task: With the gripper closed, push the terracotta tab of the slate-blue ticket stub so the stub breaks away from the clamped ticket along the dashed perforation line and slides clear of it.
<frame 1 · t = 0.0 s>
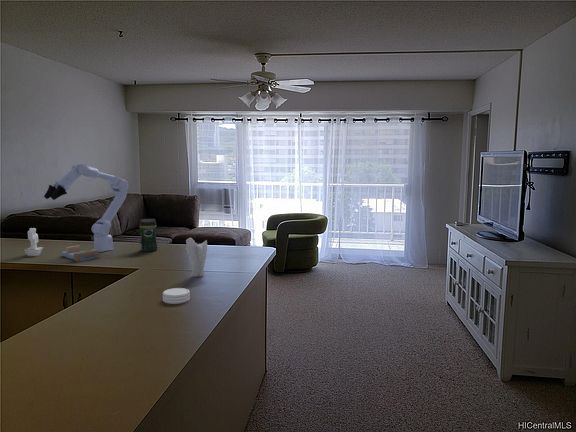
hand: (48, 198, 228), 32 cm above the kitchen counter, tool tilted 50°, fingers open, 7 cm apart
coffee jar: (148, 250, 256), on the kitchen counter
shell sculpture: (197, 276, 201), on the kitchen counter
ticket: (81, 257, 235), on the kitchen counter
stub: (72, 250, 240), point 3 cm above the kitchen counter, slide at 0.0 cm
coaster: (176, 300, 167), on the kitchen counter
figurine: (34, 255, 240), on the kitchen counter
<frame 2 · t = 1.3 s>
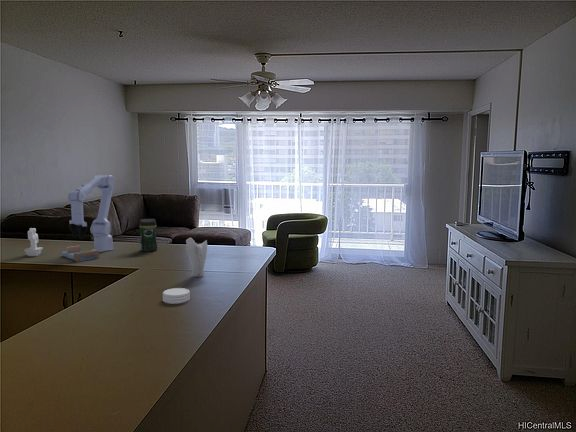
hand: (78, 238, 235), 10 cm above the kitchen counter, tool pointing down, fingers open, 6 cm apart
nothing on the kitchen counter moved.
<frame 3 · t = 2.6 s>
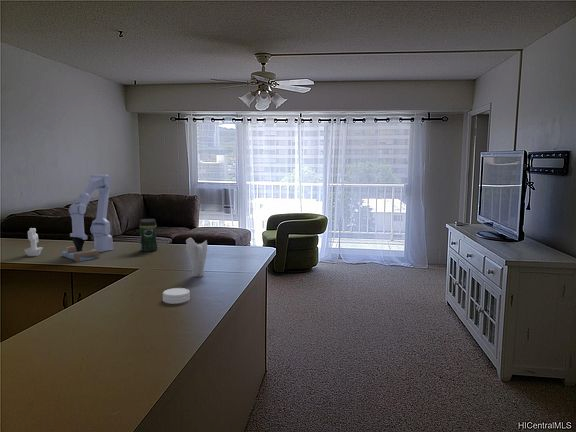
hand: (79, 251, 235), 3 cm above the kitchen counter, tool pointing down, fingers closed
nothing on the kitchen counter moved.
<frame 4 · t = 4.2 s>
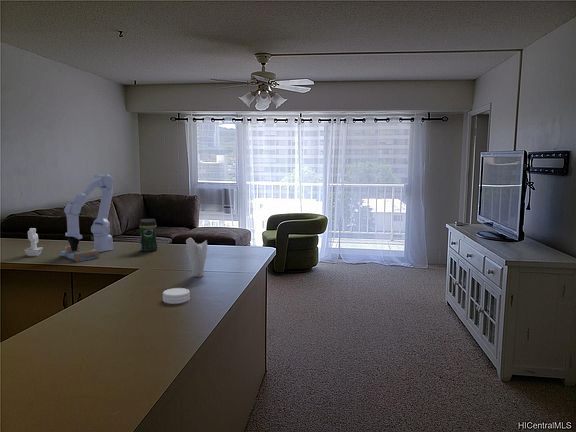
hand: (74, 250, 239), 3 cm above the kitchen counter, tool pointing down, fingers closed
stub: (71, 250, 241), point 3 cm above the kitchen counter, slide at 1.2 cm, touching gripper
everything else where it was.
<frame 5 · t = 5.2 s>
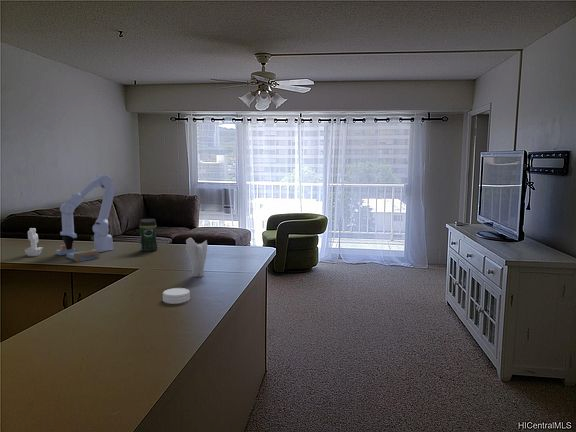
hand: (69, 249, 242), 3 cm above the kitchen counter, tool pointing down, fingers closed
stub: (66, 248, 244), point 3 cm above the kitchen counter, slide at 7.0 cm, touching gripper
everything else where it was.
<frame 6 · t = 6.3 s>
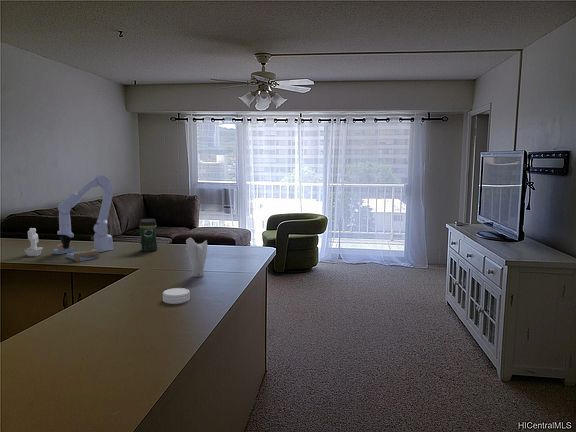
hand: (66, 248, 244), 3 cm above the kitchen counter, tool pointing down, fingers closed
stub: (63, 248, 246), point 3 cm above the kitchen counter, slide at 10.3 cm, touching gripper
everything else where it was.
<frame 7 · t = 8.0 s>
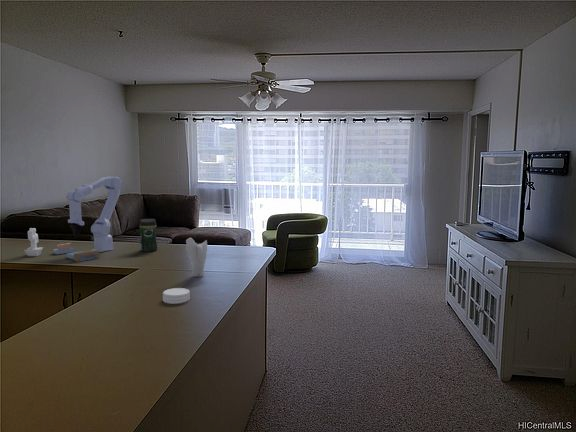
hand: (76, 237, 240), 10 cm above the kitchen counter, tool pointing down, fingers closed
stub: (63, 248, 246), point 3 cm above the kitchen counter, slide at 10.3 cm
everything else where it was.
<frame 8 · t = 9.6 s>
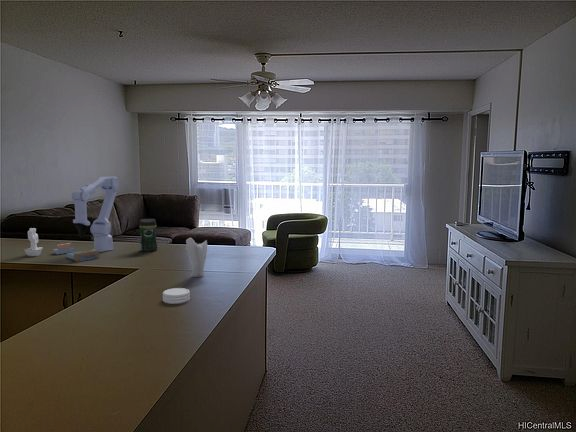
hand: (82, 237, 238), 10 cm above the kitchen counter, tool pointing down, fingers closed
nothing on the kitchen counter moved.
at the end: stub slide at 10.3 cm; stub touching nothing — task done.
